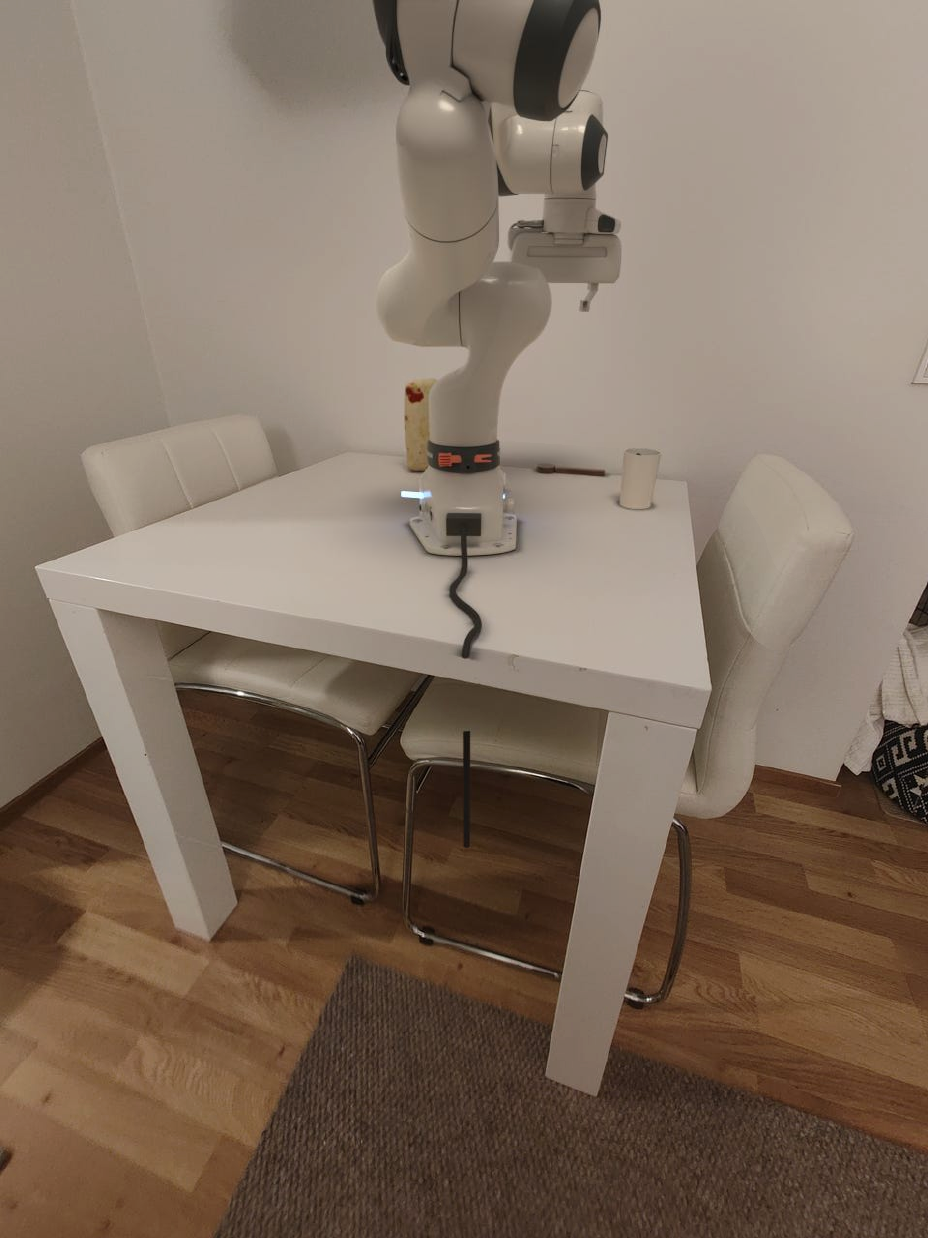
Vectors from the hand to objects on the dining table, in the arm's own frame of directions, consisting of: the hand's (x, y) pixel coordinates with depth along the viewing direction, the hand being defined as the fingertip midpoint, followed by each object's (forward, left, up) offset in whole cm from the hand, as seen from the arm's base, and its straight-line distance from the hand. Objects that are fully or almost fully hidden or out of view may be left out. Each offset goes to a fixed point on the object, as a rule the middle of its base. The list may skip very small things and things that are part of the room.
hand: (559, 311), depth 106 cm
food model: (+17, +25, -33) cm, 45 cm away
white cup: (-15, -14, -33) cm, 39 cm away
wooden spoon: (+11, -8, -33) cm, 36 cm away
